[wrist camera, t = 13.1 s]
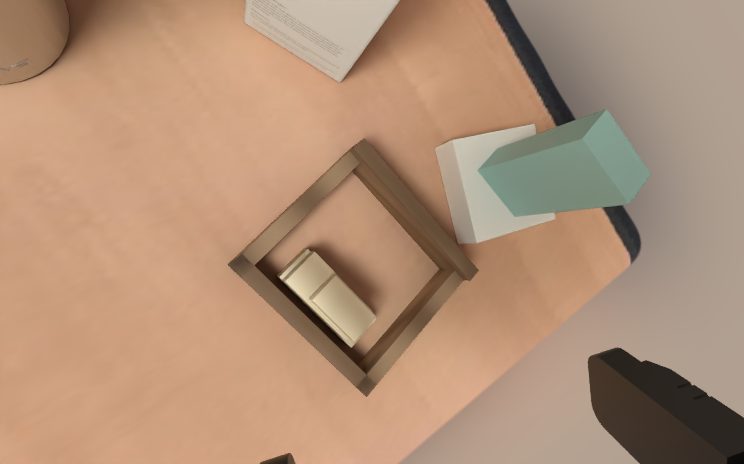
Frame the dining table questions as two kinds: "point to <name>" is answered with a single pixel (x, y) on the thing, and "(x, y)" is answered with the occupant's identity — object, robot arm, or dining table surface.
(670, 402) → the robot arm
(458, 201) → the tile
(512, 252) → the dining table surface
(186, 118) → the dining table surface
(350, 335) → the offcuts
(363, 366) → the square wooden frame
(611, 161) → the tall block
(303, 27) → the supplement box
